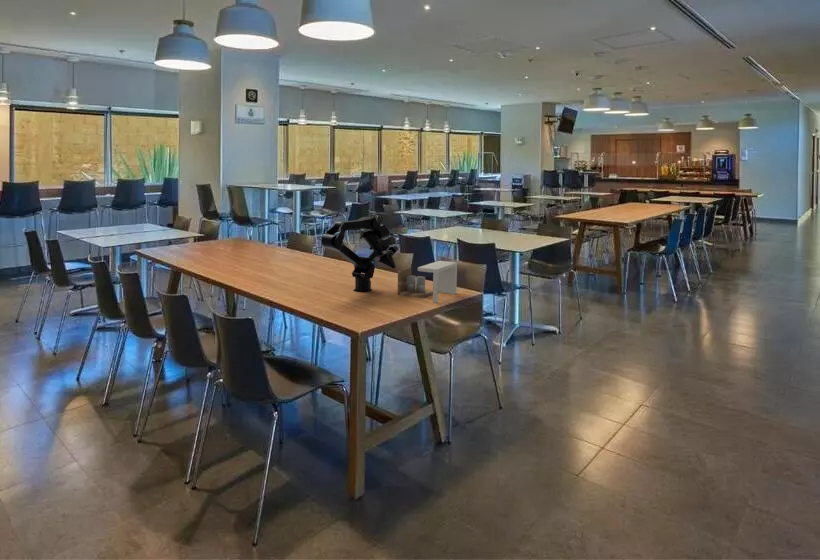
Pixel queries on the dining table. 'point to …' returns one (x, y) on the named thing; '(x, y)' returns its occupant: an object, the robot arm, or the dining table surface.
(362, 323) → the dining table surface
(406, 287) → the caddy
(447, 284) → the counter
